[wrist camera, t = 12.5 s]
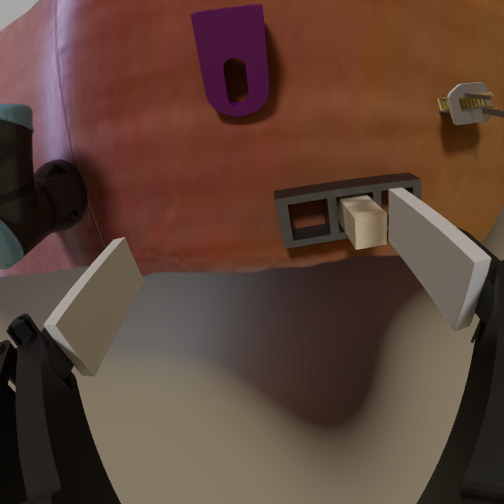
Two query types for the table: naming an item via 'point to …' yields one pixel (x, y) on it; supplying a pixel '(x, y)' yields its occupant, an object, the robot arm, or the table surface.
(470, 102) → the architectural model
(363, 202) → the peg
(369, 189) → the dark grey long frame
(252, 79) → the mounting bracket
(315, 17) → the table surface
